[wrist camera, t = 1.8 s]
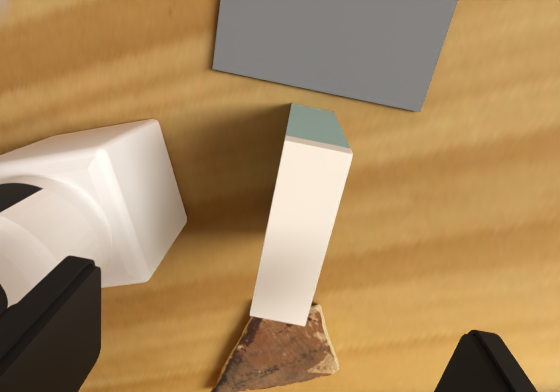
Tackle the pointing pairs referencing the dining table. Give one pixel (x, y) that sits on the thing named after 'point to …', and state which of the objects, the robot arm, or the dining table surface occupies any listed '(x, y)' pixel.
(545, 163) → the dining table surface
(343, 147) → the slab
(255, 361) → the shard
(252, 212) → the dining table surface
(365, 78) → the mat
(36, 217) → the medicine bottle
